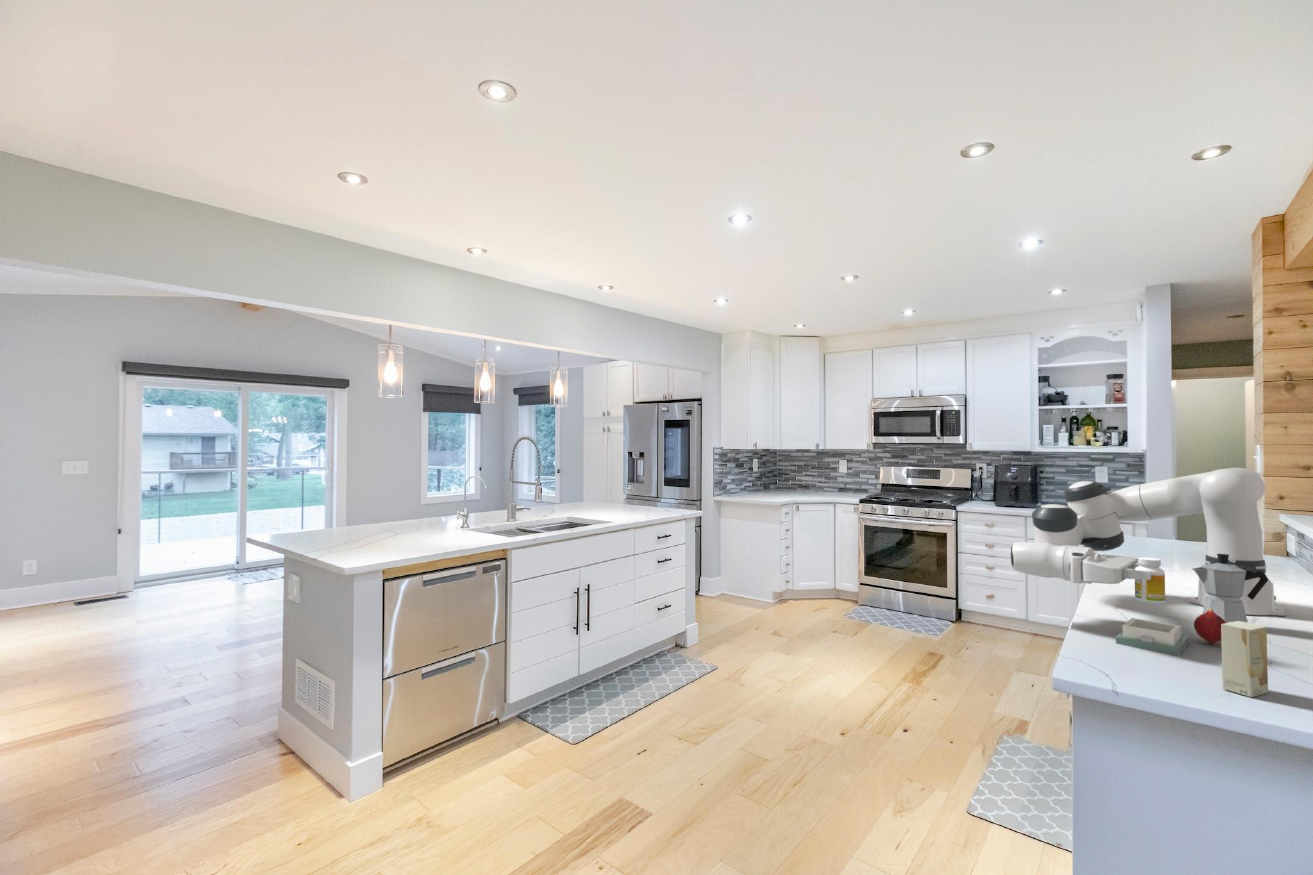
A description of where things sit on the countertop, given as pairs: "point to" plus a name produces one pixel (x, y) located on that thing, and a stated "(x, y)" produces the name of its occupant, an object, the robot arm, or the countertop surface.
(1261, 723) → the countertop surface
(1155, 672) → the countertop surface
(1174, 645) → the board
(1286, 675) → the countertop surface
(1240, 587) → the coffee maker
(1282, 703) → the countertop surface
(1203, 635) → the onion
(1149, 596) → the supplement bottle
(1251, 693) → the skincare box
